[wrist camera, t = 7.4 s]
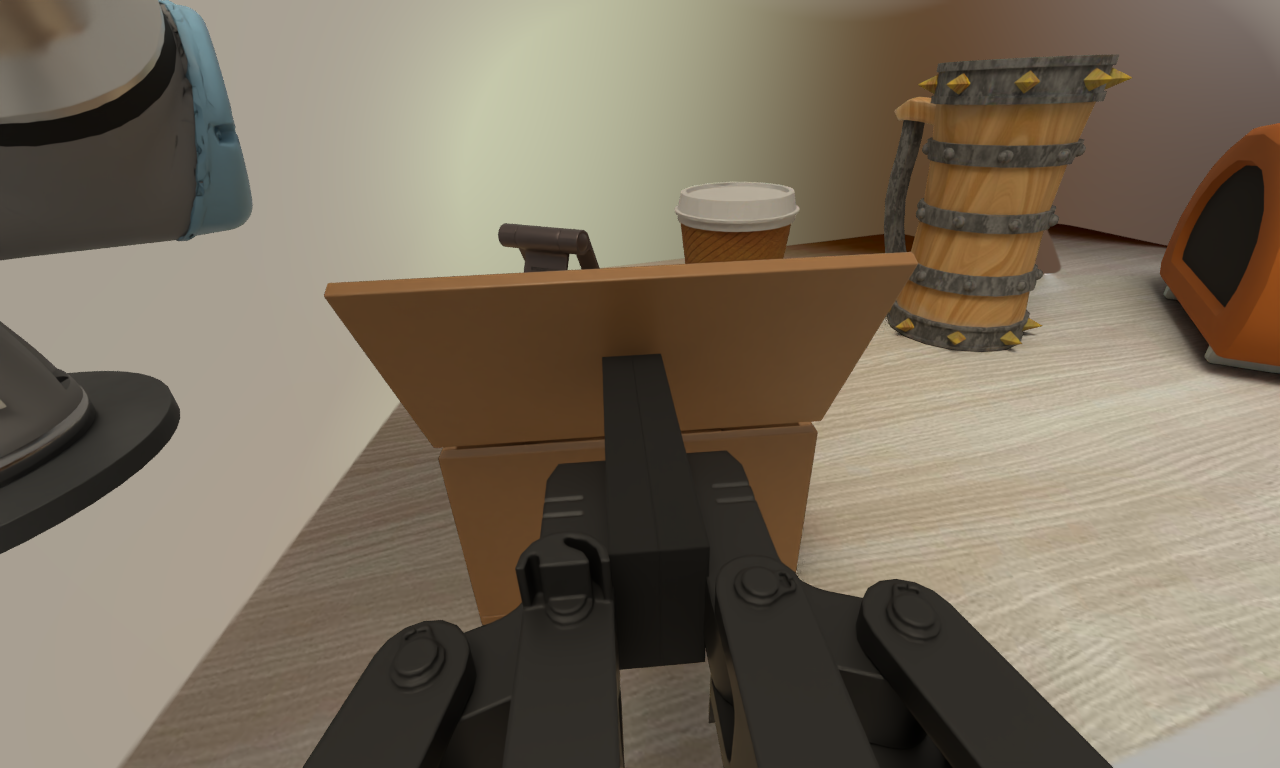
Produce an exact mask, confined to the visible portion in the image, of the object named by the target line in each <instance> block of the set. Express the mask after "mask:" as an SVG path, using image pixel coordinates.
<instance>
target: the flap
mask: <svg viewBox="0 0 1280 768" xmlns="http://www.w3.org/2000/svg"><path fill="white" fill-rule="evenodd" d="M917 265H918V262H917V260H916V258H915V256H914V254H913V253H912V252H901V253H883V254H864V255H845V256H826V257H808V258H789V259H770V260H752V261H733V262H714V263H695V264H677V265H658V266H639V267H621V268H602V269H583V270H565V271H546V272H527V273H508V274H490V275H473V276H452V277H434V278H417V279H397V280H378V281H359V282H341V283H328V285H327V287H326V291H325V294H324V297H325V299H326V300H327V301H328V303H329V304H330V305H331V307H332V308H333V309H334V311H335V312H336V314H337V315H338V316H339V318H340V319H341V321H342V322H343V323H344V325H345V326H346V327H347V329H348V330H349V331H350V333H351V334H352V336H353V337H354V339H355V340H356V341H357V343H358V344H359V345H360V347H361V348H362V349H363V351H364V352H365V353H366V355H367V356H368V358H369V359H370V361H371V362H372V363H373V364H374V366H375V367H376V369H377V370H378V372H379V373H380V374H381V376H382V377H383V378H384V380H385V381H386V383H387V384H388V385H389V386H390V388H391V389H392V391H393V392H394V393H395V395H396V396H397V398H398V399H399V400H400V402H401V403H402V405H403V406H404V407H405V409H406V410H407V411H408V413H409V414H410V416H411V417H412V418H413V420H414V421H415V422H416V424H417V425H418V427H419V428H420V429H421V431H422V432H423V434H424V435H425V436H426V438H427V439H428V440H429V442H430V443H431V445H432V446H433V447H434V448H441V447H455V446H469V445H484V444H498V443H512V442H527V441H541V440H555V439H570V438H584V437H598V436H604V405H603V373H602V357H612V356H628V355H644V354H661V356H662V360H663V363H664V367H665V371H666V375H667V379H668V383H669V387H670V391H671V395H672V399H673V403H674V407H675V411H676V415H677V418H678V422H679V426H680V430H681V431H684V430H698V429H713V428H727V427H741V426H756V425H770V424H784V423H799V422H813V421H821V420H822V419H823V417H824V415H825V414H826V412H827V411H828V409H829V407H830V406H831V404H832V403H833V401H834V399H835V398H836V396H837V394H838V393H839V391H840V390H841V388H842V386H843V385H844V383H845V382H846V380H847V378H848V377H849V375H850V373H851V372H852V370H853V369H854V367H855V365H856V364H857V362H858V360H859V359H860V357H861V356H862V354H863V352H864V351H865V349H866V348H867V346H868V344H869V343H870V341H871V339H872V338H873V336H874V335H875V333H876V331H877V330H878V328H879V327H880V325H881V323H882V322H883V320H884V318H885V317H886V315H887V314H888V312H889V310H890V309H891V307H892V306H893V304H894V302H895V301H896V299H897V297H898V296H899V294H900V293H901V291H902V289H903V288H904V286H905V285H906V283H907V281H908V280H909V278H910V276H911V275H912V273H913V272H914V270H915V268H916V267H917Z"/></svg>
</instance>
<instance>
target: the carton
mask: <svg viewBox="0 0 1280 768" xmlns="http://www.w3.org/2000/svg"><path fill="white" fill-rule="evenodd" d="M817 433H818V432H817V430H816V429H815V427H814V426H813V425H812V423H811V422H799V423H784V424H770V425H756V426H741V427H727V428H713V429H698V430H684V431H681V434H682V438H683V442H684V446H685V450H686V453H695V452H709V451H723V450H727V451H728V452H729V453H730V454H731V455H732V456H733V457H734V458H735V459H737V460H738V461H739V462H740V463H741V464H742V466H743V468H744V471H745V473H746V476H747V478H748V481H749V486H751V488H752V491H753V493H754V496H755V500H756V501H757V504H758V506H759V509H760V511H761V514H762V516H763V519H764V521H765V524H766V526H767V529H768V531H769V534H770V536H771V539H772V541H773V544H774V547H775V549H776V552H777V554H778V556H779V558H780V560H781V562H782V563H784V564H785V565H786V566H788V567H789V568H790V569H792V570H793V571H794V572H795V573H796V568H797V562H798V555H799V549H800V542H801V536H802V530H803V523H804V517H805V510H806V504H807V498H808V491H809V485H810V478H811V472H812V465H813V459H814V453H815V446H816V440H817ZM438 460H439V464H440V467H441V471H442V475H443V479H444V482H445V486H446V490H447V494H448V498H449V501H450V505H451V509H452V513H453V516H454V520H455V524H456V528H457V531H458V535H459V539H460V543H461V547H462V550H463V554H464V558H465V562H466V565H467V569H468V573H469V577H470V580H471V584H472V588H473V592H474V595H475V599H476V603H477V607H478V611H479V614H480V618H481V622H482V625H486V624H489V623H492V622H494V621H496V620H498V619H500V618H502V617H504V616H506V615H507V614H509V613H510V612H512V611H513V610H514V609H516V608H517V607H518V606H519V605H520V604H521V603H522V600H521V595H520V590H519V585H518V580H517V576H516V571H515V567H516V565H517V563H518V560H519V558H520V555H521V554H522V553H523V552H524V551H525V550H526V549H527V548H528V547H529V545H530V544H531V543H532V542H534V541H536V540H538V539H540V532H541V524H542V518H543V507H544V503H545V491H546V482H547V479H548V478H549V477H550V475H551V474H552V472H553V471H554V470H555V468H556V467H557V465H558V464H563V463H577V462H591V461H605V437H604V436H598V437H584V438H570V439H555V440H541V441H527V442H512V443H498V444H484V445H469V446H455V447H443V449H442V451H441V454H440V456H439V459H438Z"/></svg>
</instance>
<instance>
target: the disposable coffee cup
mask: <svg viewBox="0 0 1280 768" xmlns="http://www.w3.org/2000/svg"><path fill="white" fill-rule="evenodd" d="M675 212H676V214H677V215H678V220H679V222H680V223H681V229H682V238H683V248H684V255H685V264H695V263H714V262H733V261H752V260H770V259H783V257H784V253H785V249H786V244H787V240H788V236H789V231H790V226H791V223H792V222H793V221H794V220H795V215H796V214H797V213H798V212H799V207H798V206H797V205H796V202H795V193H794V190H793V189H792V188H790V187H787V186H783V185H778V184H770V183H760V182H722V183H708V184H701V185H696V186H691V187H687V188H685V189H683V190H682V191H681V195H680V199H679V204H678V205H677V206H676V207H675Z"/></svg>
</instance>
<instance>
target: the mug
mask: <svg viewBox="0 0 1280 768" xmlns="http://www.w3.org/2000/svg"><path fill="white" fill-rule="evenodd" d="M1118 57H1119V55H1084V56H1058V57H1034V58H1015V59H996V60H979V61H963V62H949V63H940V64H938V68H937V72H939V74H938V75H936V76H934V77H932V78H931V79H929V80H926V81H924V82H922V83H920V84H919V86H921V87H923V88H925V89H927V90H928V91H930V92H932V93H934V96H932V97H931V98H926V97H917V98H913V99H910V100H908V101H906V102H905V103H904V104H903V105H901V106H900V107H899V108H897V109H896V110H895V113H896V116H897V118H898V120H904V122H903V128H902V134H901V138H900V143H899V147H898V151H897V155H896V158H895V161H894V165H893V168H892V172H891V175H890V180H889V185H888V190H887V195H886V201H885V221H884V232H885V233H884V235H885V252H886V253H901V252H906V247H905V234H904V215H905V199H906V195H907V190H908V186H909V182H910V177H911V173H912V170H913V167H914V164H915V161H916V157H917V154H918V151H919V147H920V143H921V139H922V134H923V128H924V123H928V124H931V125H934V130H933V138H930V139H928V143H926V144H925V145H924V146H923V149H922V151H923V153H924V154H926V155H928V159H930V166H929V172H928V178H927V185H926V191H925V197H924V198H923V199H921V200H920V201H919V203H918V205H917V206H918V210H917V212H916V217H917V218H918V219H919V224H918V228H917V231H916V235H915V239H914V243H913V246H912V250H911V252H912V253H913V254H914V256H915V258H916V260H917V262H918V265H917V267H916V268H915V270H914V272H913V273H912V275H911V276H910V278H909V280H908V281H907V283H906V285H905V286H904V288H903V289H902V291H901V293H900V294H899V296H898V297H897V299H896V301H895V302H894V304H893V306H892V307H891V309H890V310H889V314H888V317H887V318H888V321H889V324H890V326H891V327H892V328H894V329H895V330H897V331H898V332H899V333H901V334H902V335H904V336H906V337H909V338H912V339H914V340H917V341H920V342H922V343H925V344H929V345H934V346H939V347H944V348H948V349H953V350H966V351H981V352H983V351H994V350H1004V349H1008V348H1010V347H1012V346H1015V345H1017V344H1022V343H1021V339H1022V336H1023V333H1024V332H1023V331H1024V330H1028V329H1032V328H1037V327H1041V326H1042V325H1040V324H1038V323H1037V322H1035V321H1033V320H1031V319H1030V318H1029V315H1030V313H1029V312H1028V311H1027V310H1026V307H1027V302H1028V297H1029V291H1032V290H1034V288H1035V285H1036V280H1038V279H1040V278H1041V277H1042V275H1043V272H1042V271H1041V270H1039V269H1037V267H1038V266H1037V265H1036V264H1035V261H1036V257H1037V254H1038V250H1039V246H1040V242H1041V239H1042V235H1043V231H1044V230H1047V229H1049V227H1050V226H1054V225H1056V224H1057V223H1058V220H1059V217H1058V216H1057V215H1055V214H1054V212H1055V209H1056V206H1053V205H1052V203H1053V201H1054V198H1055V195H1056V192H1057V190H1058V188H1059V185H1060V182H1061V180H1062V177H1063V175H1064V172H1065V169H1066V167H1067V164H1071V163H1072V162H1073V160H1074V158H1075V157H1077V156H1080V155H1082V154H1083V153H1084V152H1085V149H1086V147H1085V146H1084V145H1083V142H1084V140H1083V139H1079V137H1080V135H1081V133H1082V131H1083V129H1084V127H1085V124H1086V122H1087V120H1088V118H1089V116H1090V114H1091V111H1092V109H1093V107H1094V105H1095V103H1096V101H1103V100H1104V98H1105V95H1106V91H1104V90H1105V89H1107V88H1110V87H1112V86H1114V85H1117V84H1119V83H1122V82H1124V81H1126V80H1129V79H1131V78H1132V77H1130V76H1128V75H1126V74H1124V73H1122V72H1120V71H1118V70H1116V69H1114V68H1112V66H1113V65H1116V63H1117V60H1118Z"/></svg>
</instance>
